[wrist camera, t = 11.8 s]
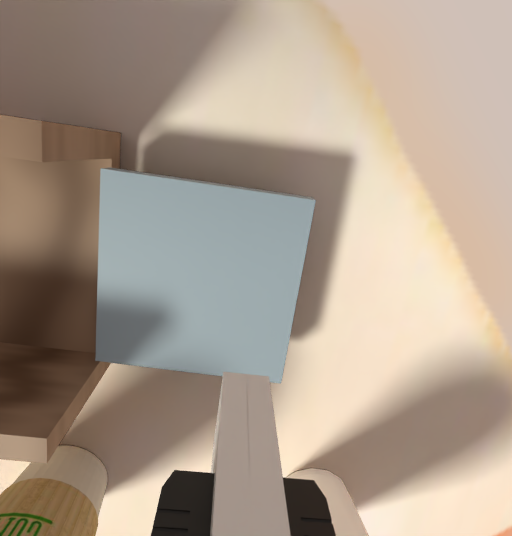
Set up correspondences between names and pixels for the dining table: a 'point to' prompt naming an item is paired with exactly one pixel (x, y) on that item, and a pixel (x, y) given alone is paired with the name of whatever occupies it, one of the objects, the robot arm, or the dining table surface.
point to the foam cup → (336, 501)
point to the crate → (48, 279)
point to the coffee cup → (55, 496)
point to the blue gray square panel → (197, 273)
